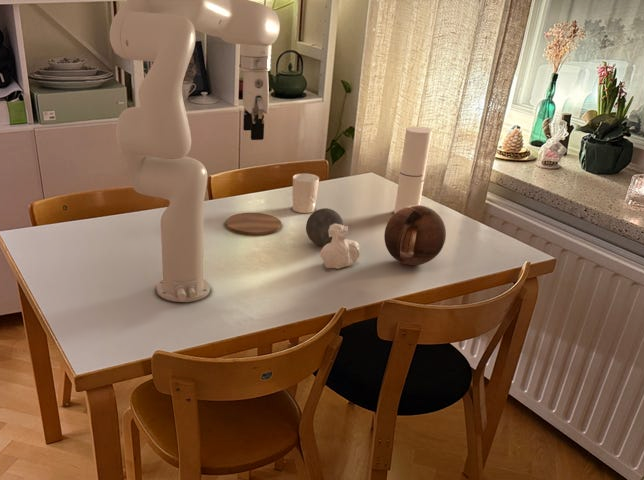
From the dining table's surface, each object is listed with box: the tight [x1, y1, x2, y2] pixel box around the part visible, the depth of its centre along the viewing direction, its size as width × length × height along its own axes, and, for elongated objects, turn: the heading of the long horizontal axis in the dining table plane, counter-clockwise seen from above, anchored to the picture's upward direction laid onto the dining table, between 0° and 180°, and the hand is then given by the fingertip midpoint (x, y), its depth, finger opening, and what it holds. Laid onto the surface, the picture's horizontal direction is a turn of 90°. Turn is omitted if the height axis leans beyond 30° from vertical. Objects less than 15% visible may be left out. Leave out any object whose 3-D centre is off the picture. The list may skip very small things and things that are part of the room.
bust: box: [319, 223, 361, 270], centre depth 177 cm, size 12×8×11 cm
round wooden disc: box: [225, 212, 282, 237], centre depth 202 cm, size 16×16×1 cm
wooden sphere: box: [383, 204, 447, 266], centre depth 176 cm, size 15×15×15 cm
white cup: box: [291, 173, 320, 214], centre depth 211 cm, size 8×8×10 cm
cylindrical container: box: [393, 126, 433, 215], centre depth 205 cm, size 7×7×25 cm
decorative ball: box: [305, 207, 344, 247], centre depth 188 cm, size 10×10×10 cm
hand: (253, 134), depth 178 cm, fingers open, 9 cm apart
